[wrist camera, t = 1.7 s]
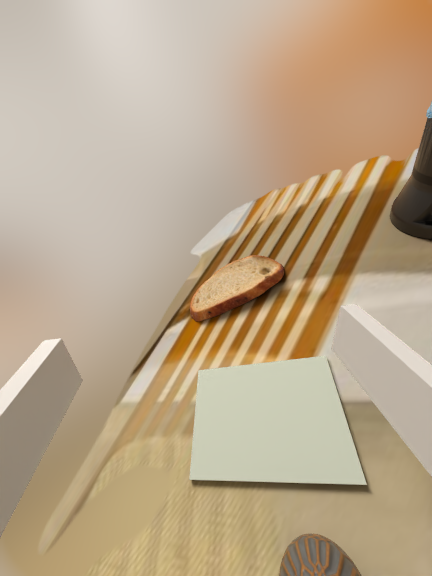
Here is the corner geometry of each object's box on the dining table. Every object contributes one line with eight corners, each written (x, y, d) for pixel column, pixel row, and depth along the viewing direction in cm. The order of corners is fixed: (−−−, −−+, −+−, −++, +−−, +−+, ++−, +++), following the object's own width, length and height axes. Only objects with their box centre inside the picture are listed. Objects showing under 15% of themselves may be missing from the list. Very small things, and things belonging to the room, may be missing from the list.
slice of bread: (185, 320, 47) (177, 310, 45) (216, 260, 57) (211, 249, 54) (268, 335, 39) (264, 324, 36) (288, 262, 48) (286, 248, 46)
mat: (326, 357, 33) (326, 355, 32) (366, 484, 23) (366, 484, 23) (200, 371, 38) (198, 370, 38) (191, 479, 29) (189, 479, 28)
